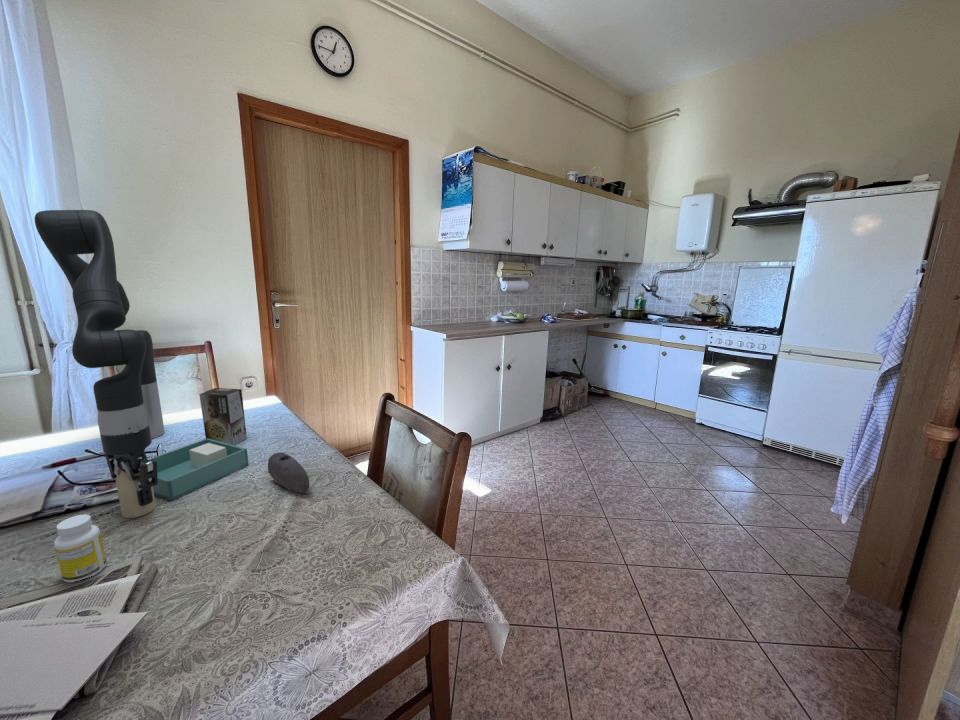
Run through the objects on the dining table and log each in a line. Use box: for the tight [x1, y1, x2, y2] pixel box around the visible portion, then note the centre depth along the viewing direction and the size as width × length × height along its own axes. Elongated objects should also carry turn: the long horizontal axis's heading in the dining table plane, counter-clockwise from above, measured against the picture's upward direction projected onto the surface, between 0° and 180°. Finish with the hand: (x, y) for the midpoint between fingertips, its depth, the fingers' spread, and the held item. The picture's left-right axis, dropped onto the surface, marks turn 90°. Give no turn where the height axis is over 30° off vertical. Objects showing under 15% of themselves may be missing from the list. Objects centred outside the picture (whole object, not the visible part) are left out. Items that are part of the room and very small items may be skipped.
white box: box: [189, 443, 227, 468], centre depth 102 cm, size 7×5×4 cm
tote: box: [147, 438, 249, 502], centre depth 98 cm, size 16×19×5 cm
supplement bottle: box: [53, 514, 107, 583], centre depth 65 cm, size 5×5×10 cm
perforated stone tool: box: [267, 452, 310, 494], centre depth 94 cm, size 15×5×7 cm, turn 51°
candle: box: [115, 471, 157, 519], centre depth 82 cm, size 6×6×10 cm
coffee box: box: [199, 387, 248, 446], centre depth 117 cm, size 9×6×16 cm
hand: (137, 500), depth 83 cm, fingers closed on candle, 5 cm apart
